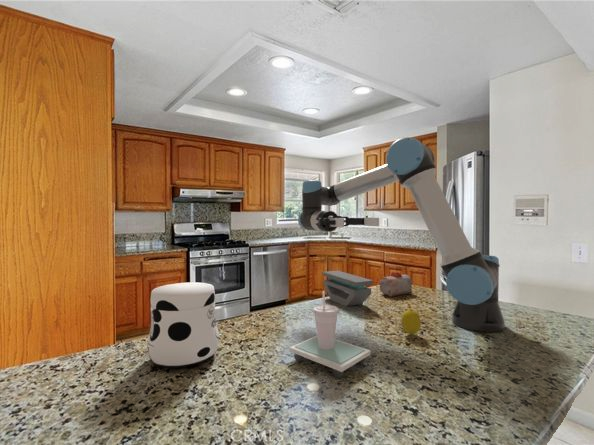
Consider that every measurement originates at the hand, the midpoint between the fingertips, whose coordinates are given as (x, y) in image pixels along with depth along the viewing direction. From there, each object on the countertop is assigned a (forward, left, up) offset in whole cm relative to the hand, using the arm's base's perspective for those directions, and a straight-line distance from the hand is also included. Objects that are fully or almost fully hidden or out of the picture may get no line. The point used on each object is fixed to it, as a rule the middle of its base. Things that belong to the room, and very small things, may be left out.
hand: (361, 222), depth 102 cm
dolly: (-6, +24, -34) cm, 42 cm away
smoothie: (-5, +24, -31) cm, 39 cm away
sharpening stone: (+23, -25, -34) cm, 48 cm away
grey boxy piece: (+14, -51, -34) cm, 63 cm away
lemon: (-13, -7, -34) cm, 37 cm away
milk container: (+23, +47, -34) cm, 63 cm away
